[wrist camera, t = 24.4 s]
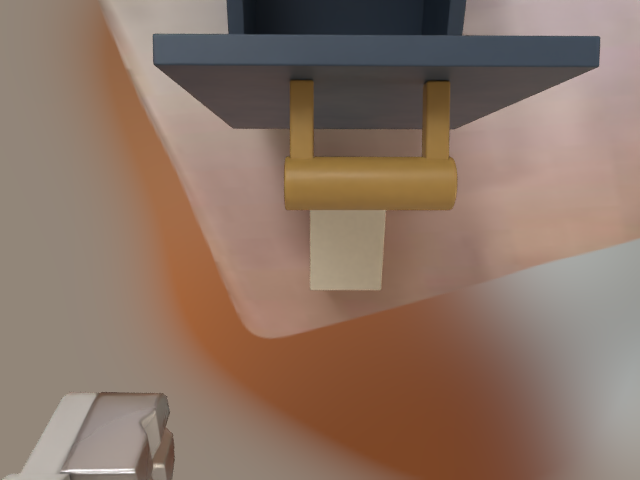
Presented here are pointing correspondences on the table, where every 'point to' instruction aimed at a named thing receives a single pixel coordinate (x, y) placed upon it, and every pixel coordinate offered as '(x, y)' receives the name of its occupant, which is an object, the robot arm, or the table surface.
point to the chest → (346, 17)
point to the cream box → (346, 249)
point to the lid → (367, 100)
